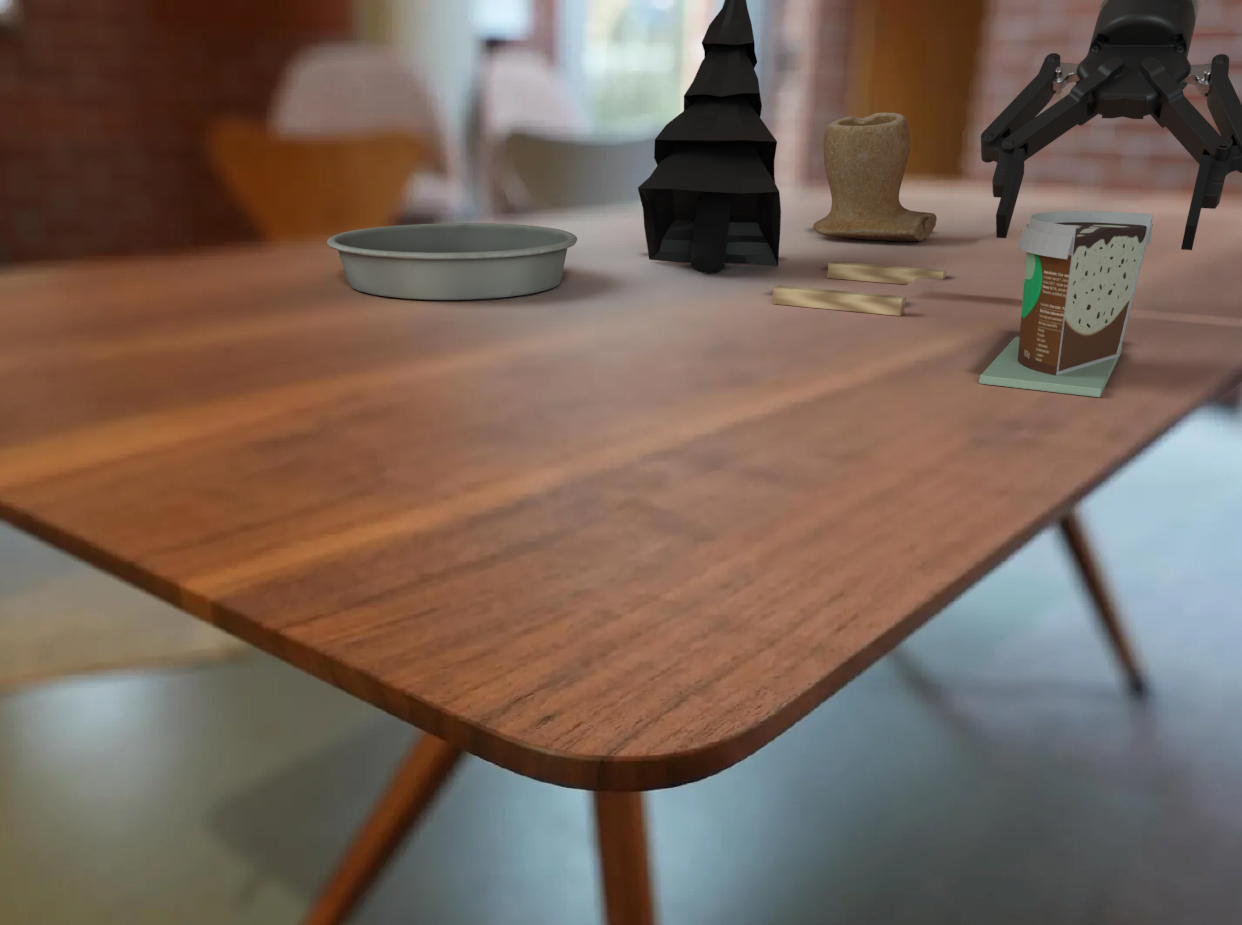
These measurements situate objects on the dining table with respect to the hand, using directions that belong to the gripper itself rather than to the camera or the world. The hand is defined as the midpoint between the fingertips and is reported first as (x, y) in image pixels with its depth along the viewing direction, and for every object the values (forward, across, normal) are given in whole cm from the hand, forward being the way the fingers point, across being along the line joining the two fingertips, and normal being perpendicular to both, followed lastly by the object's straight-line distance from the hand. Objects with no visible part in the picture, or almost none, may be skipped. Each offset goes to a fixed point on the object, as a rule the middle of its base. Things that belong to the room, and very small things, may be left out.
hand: (1092, 232), depth 90 cm
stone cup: (-33, +31, -45) cm, 64 cm away
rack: (-5, +21, -17) cm, 27 cm away
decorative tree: (-12, +41, -25) cm, 49 cm away
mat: (+13, 0, 0) cm, 13 cm away
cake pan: (+5, +59, -7) cm, 60 cm away
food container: (+12, +1, 0) cm, 12 cm away
